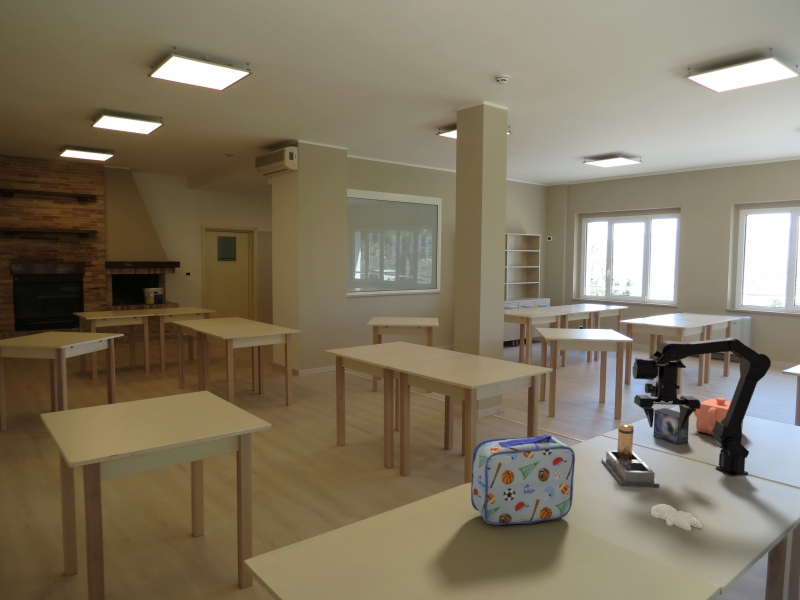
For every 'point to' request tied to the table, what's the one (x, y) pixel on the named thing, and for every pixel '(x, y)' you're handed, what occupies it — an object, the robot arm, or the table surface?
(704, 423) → the teapot
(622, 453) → the copper tube
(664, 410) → the small box
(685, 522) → the astronaut figurine
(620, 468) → the grey two-compartment tray
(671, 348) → the robot arm
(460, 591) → the table surface
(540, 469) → the lunch box
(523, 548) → the table surface
